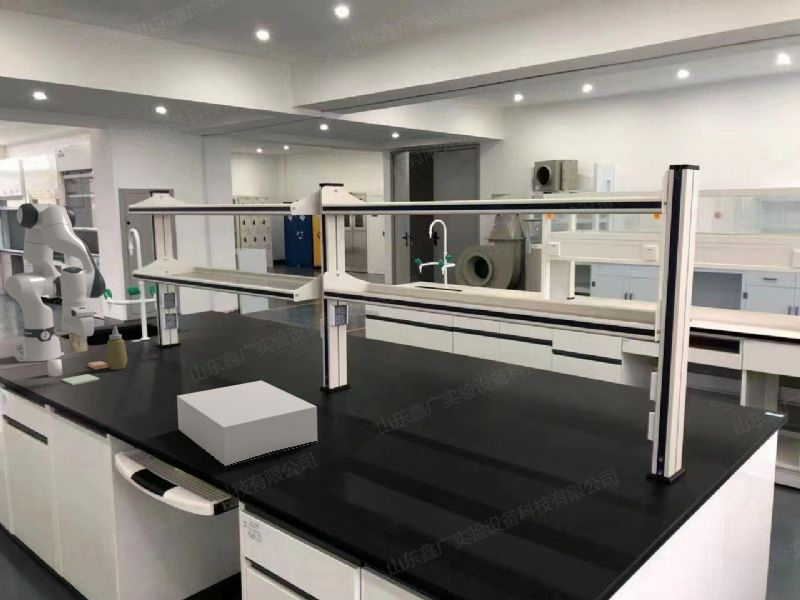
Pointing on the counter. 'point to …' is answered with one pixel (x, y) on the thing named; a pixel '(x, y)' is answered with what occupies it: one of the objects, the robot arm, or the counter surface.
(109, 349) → the squeeze bottle
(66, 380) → the mat
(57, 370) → the white rounded dome
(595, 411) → the counter surface
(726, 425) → the counter surface
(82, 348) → the maple block
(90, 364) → the terracotta tile
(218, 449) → the box
